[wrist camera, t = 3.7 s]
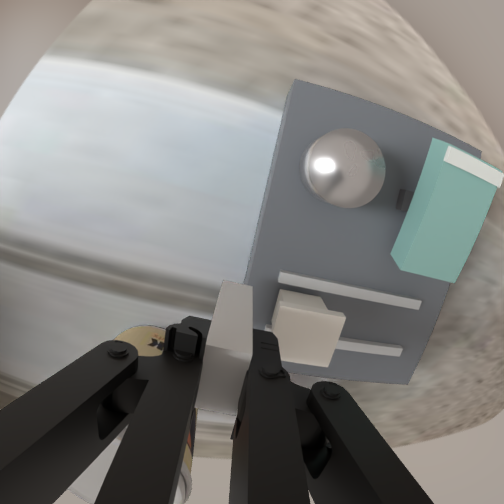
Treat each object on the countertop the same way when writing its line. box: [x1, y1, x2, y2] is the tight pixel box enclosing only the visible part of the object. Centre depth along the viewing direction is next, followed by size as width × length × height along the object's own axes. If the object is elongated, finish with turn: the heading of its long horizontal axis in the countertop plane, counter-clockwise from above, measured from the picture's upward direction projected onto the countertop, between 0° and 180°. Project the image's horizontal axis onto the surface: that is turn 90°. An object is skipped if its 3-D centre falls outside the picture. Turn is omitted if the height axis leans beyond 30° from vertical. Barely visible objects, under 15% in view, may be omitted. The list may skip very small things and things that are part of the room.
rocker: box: [390, 138, 504, 283], centre depth 15 cm, size 4×7×2 cm, turn 167°
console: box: [244, 79, 482, 385], centre depth 19 cm, size 13×17×5 cm
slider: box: [271, 289, 346, 367], centre depth 16 cm, size 3×3×4 cm
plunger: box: [299, 128, 385, 208], centre depth 15 cm, size 4×4×3 cm
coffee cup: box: [68, 325, 198, 504], centre depth 18 cm, size 9×9×12 cm
